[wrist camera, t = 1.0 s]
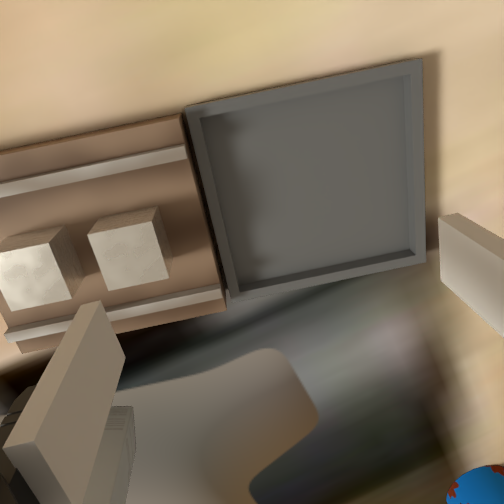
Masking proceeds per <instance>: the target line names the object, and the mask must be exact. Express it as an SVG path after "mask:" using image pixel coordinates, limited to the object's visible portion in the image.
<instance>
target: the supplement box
mask: <svg viewBox="0 0 504 504" xmlns="http://www.w3.org/2000/svg"><path fill="white" fill-rule="evenodd" d="M135 452H136V441H135V427H134V414H133V407H131V406H123V407H122V406H117V407H111V408H110V411H109V415H108V418H107V421H106V425H105V428H104V432H103V435H102V438H101V442H100V445H99V449H98V452H97V455H96V459H95V462H94V465H93V469H92V472H91V476H90V479H89V482H88V486H87V489H86V493H85V496H84V499H83V503H82V504H125V503H126V498H127V493H128V487H129V482H130V476H131V472H132V467H133V462H134V457H135Z"/></svg>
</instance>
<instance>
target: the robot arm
mask: <svg viewBox="0 0 504 504" xmlns="http://www.w3.org/2000/svg"><path fill="white" fill-rule="evenodd" d="M438 228H439V250H440V272H441V281H442V282H443V283H444V284H445V285H446V286H447V287H448V288H450V289H451V290H452V291H453V292H454V293H455V294H456V295H457V296H458V297H459V298H460V299H462V300H463V301H464V302H465V303H466V304H467V305H468V306H469V307H470V308H471V309H472V310H474V311H475V312H476V313H477V314H478V315H479V316H480V317H481V318H482V319H483V320H485V321H486V322H487V323H488V324H489V325H490V326H491V327H492V328H493V329H494V330H495V331H497V332H498V333H499V334H500V335H501V336H502V337H503V338H504V239H502V238H501V237H499V236H497V235H495V234H494V233H492V232H490V231H488V230H487V229H485V228H483V227H481V226H480V225H478V224H476V223H475V222H473V221H471V220H469V219H468V218H466V217H464V216H462V215H461V214H459V213H455V214H451V215H447V216H443V217H439V218H438ZM124 360H125V356H124V353H123V351H122V349H121V346H120V344H119V342H118V339H117V337H116V335H115V332H114V330H113V328H112V326H111V323H110V321H109V319H108V316H107V314H106V312H105V309H104V307H103V305H102V303H101V300H99V301H95V302H91V303H87V304H83V305H81V306H80V308H79V309H78V311H77V313H76V315H75V317H74V319H73V320H72V322H71V324H70V326H69V328H68V329H67V331H66V333H65V335H64V337H63V339H62V340H61V342H60V344H59V346H58V348H57V349H56V351H55V353H54V355H53V357H52V359H51V360H50V362H49V364H48V366H47V368H46V370H45V371H44V373H43V375H42V377H41V379H40V380H39V382H38V384H37V385H35V386H31V387H28V388H27V389H26V390H25V391H24V392H23V393H22V394H21V395H20V396H19V397H18V398H17V399H16V400H15V401H14V403H13V404H12V406H11V408H10V409H9V411H8V413H7V416H6V417H5V418H4V419H3V421H2V423H1V425H0V426H1V427H0V504H82V503H83V499H84V496H85V493H86V489H87V486H88V482H89V479H90V476H91V472H92V469H93V465H94V462H95V459H96V455H97V452H98V449H99V445H100V442H101V438H102V435H103V432H104V428H105V425H106V421H107V418H108V415H109V411H110V408H111V404H112V401H113V397H114V394H115V391H116V387H117V384H118V381H119V377H120V374H121V370H122V367H123V364H124Z"/></svg>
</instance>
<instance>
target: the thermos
mask: <svg viewBox="0 0 504 504" xmlns="http://www.w3.org/2000/svg"><path fill="white" fill-rule="evenodd" d="M446 501H447V503H448V504H504V467H502V466H499V465H495V466H483V467H480V468H476V469H473V470H471V471H469V472H467V473H465V474H463V475H462V476H461V477H459V478H458V479H457V480H456V481H455V482H454V483H453V484H452V486H451V487H450V489H449V491H448V493H447V500H446Z"/></svg>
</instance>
